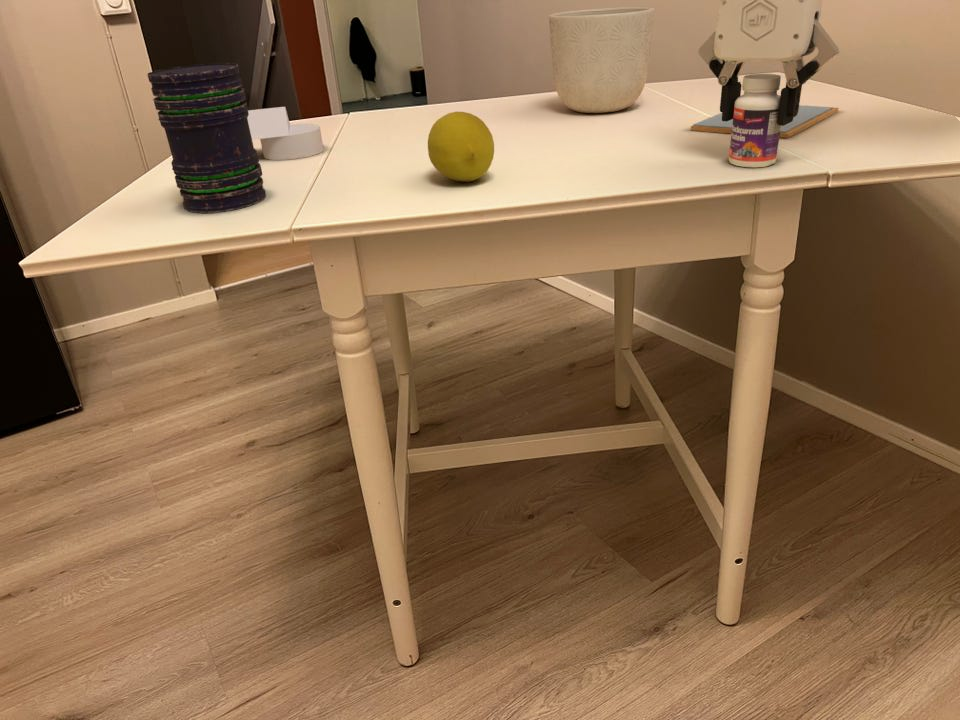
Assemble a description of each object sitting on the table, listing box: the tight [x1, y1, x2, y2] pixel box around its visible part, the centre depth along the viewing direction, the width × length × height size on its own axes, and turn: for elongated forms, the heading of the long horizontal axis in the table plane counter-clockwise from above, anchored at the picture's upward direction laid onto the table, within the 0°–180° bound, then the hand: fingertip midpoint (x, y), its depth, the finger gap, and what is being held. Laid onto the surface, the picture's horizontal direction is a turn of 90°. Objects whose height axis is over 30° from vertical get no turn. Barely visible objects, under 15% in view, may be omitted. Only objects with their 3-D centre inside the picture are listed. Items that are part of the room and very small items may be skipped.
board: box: [690, 104, 839, 139], centre depth 105 cm, size 14×20×1 cm
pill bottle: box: [728, 73, 782, 168], centre depth 82 cm, size 5×5×10 cm
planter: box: [548, 6, 655, 114], centre depth 119 cm, size 17×17×15 cm
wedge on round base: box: [247, 106, 325, 161], centre depth 106 cm, size 9×7×13 cm
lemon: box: [427, 111, 495, 183], centre depth 85 cm, size 11×8×8 cm
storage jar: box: [147, 62, 267, 214], centre depth 82 cm, size 10×10×15 cm
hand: (756, 119), depth 82 cm, fingers open, 5 cm apart
